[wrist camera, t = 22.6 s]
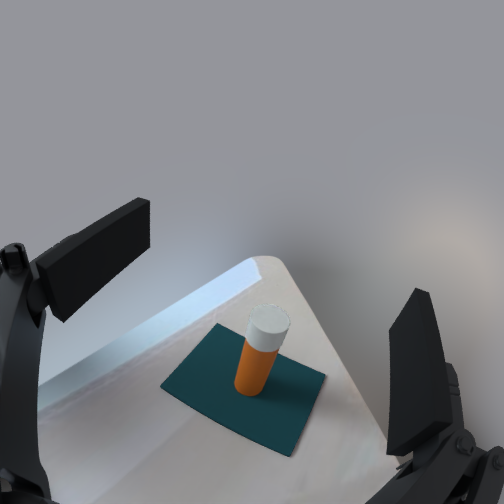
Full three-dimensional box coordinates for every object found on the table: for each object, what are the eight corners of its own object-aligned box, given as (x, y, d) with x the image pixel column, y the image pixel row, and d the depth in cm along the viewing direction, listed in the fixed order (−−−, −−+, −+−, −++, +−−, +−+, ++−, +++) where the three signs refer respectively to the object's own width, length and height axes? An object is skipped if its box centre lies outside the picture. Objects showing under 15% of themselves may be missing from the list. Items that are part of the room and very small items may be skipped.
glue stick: (227, 387, 33) (243, 321, 26) (242, 367, 37) (261, 298, 30) (255, 402, 32) (281, 339, 25) (268, 380, 35) (296, 314, 28)
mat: (160, 387, 32) (159, 385, 32) (217, 324, 43) (217, 322, 43) (289, 457, 27) (290, 456, 26) (324, 376, 38) (325, 374, 37)
